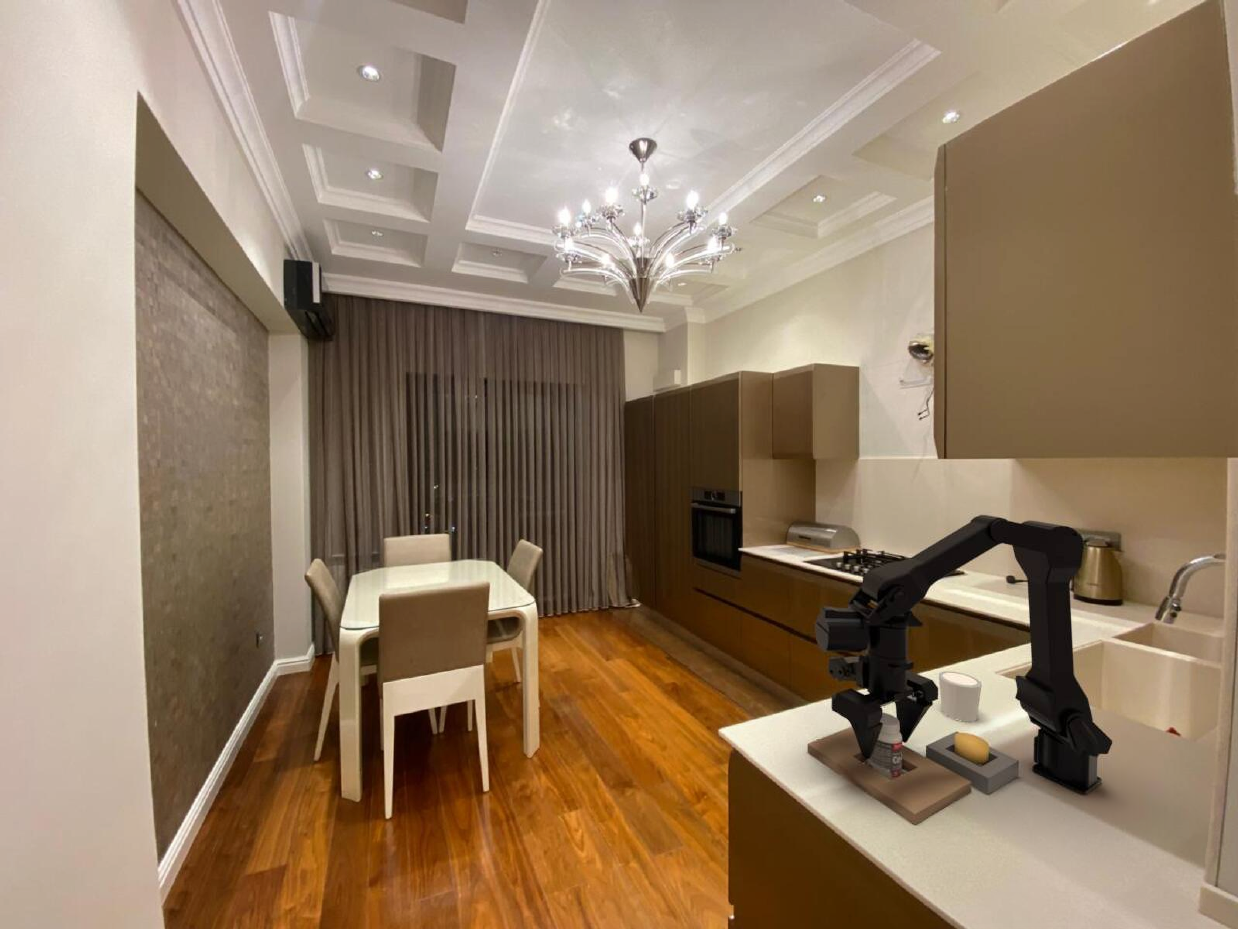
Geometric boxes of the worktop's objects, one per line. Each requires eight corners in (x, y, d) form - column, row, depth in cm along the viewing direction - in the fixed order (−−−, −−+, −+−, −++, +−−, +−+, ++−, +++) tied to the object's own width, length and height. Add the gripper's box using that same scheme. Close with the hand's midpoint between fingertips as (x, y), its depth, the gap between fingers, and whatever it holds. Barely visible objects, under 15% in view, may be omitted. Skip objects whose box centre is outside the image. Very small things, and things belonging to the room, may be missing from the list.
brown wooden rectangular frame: (971, 792, 72) (971, 782, 72) (914, 825, 66) (915, 814, 66) (861, 730, 88) (861, 722, 88) (807, 752, 82) (807, 743, 82)
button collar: (1018, 776, 76) (1018, 760, 76) (988, 795, 72) (988, 778, 72) (956, 745, 84) (956, 731, 84) (925, 760, 80) (925, 745, 80)
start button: (994, 759, 77) (994, 744, 77) (979, 768, 75) (979, 752, 75) (963, 745, 81) (964, 730, 81) (948, 752, 79) (949, 737, 79)
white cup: (929, 709, 96) (930, 674, 96) (951, 702, 99) (952, 668, 99) (967, 727, 90) (967, 689, 89) (988, 719, 93) (989, 682, 92)
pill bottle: (899, 785, 74) (900, 730, 74) (864, 772, 77) (865, 720, 77) (903, 769, 78) (904, 717, 77) (870, 757, 81) (871, 707, 80)
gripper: (876, 626, 88) (875, 711, 89) (803, 644, 79) (802, 739, 80) (941, 647, 78) (939, 743, 79) (866, 671, 70) (864, 779, 70)
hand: (884, 749), depth 77 cm, fingers open, 9 cm apart
